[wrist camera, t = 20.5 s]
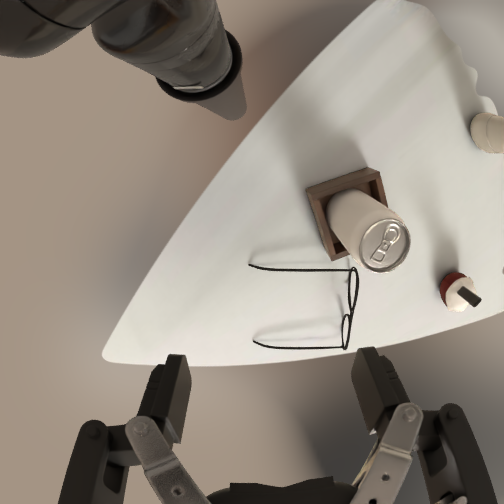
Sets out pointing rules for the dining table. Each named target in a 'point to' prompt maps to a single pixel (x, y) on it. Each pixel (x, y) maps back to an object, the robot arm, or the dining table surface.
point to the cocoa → (458, 292)
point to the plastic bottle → (488, 132)
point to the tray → (323, 192)
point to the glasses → (344, 315)
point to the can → (368, 230)
